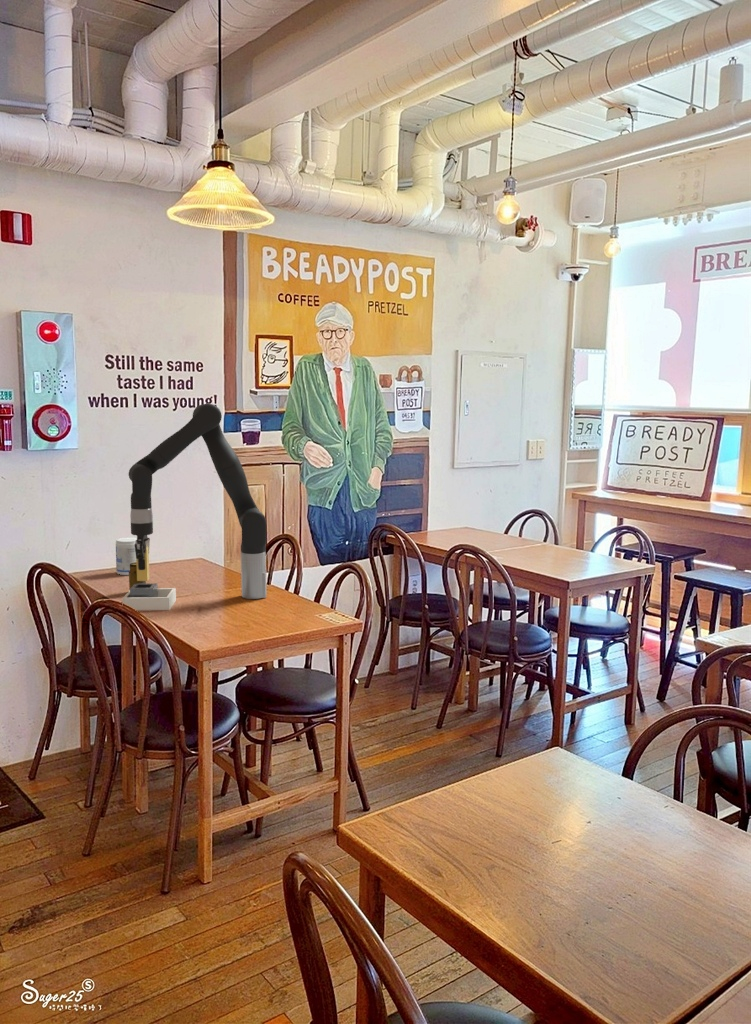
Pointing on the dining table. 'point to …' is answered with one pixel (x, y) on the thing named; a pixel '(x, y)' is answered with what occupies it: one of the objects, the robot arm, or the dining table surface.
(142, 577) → the plug
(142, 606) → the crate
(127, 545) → the supplement tub
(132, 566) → the condiment
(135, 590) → the socket
